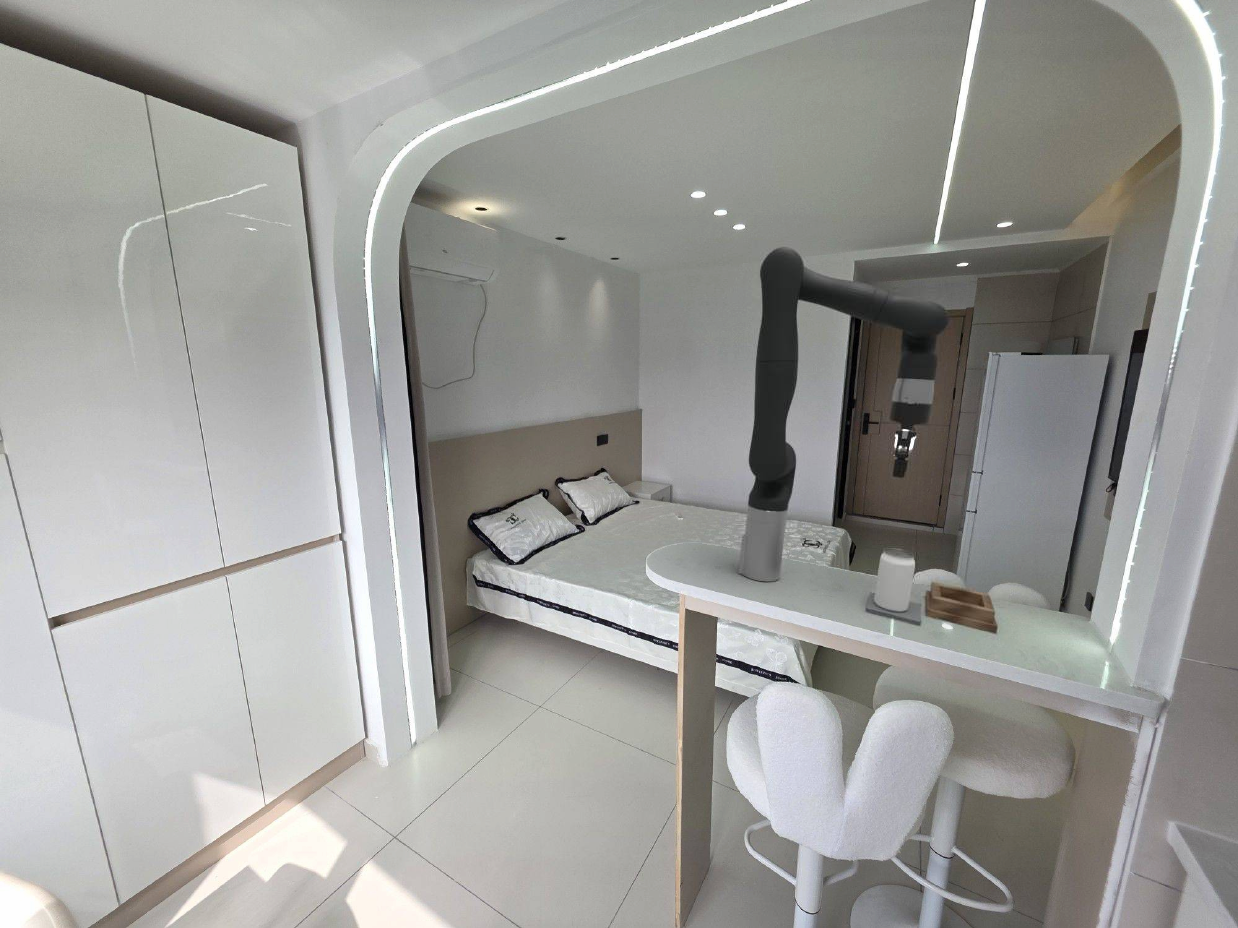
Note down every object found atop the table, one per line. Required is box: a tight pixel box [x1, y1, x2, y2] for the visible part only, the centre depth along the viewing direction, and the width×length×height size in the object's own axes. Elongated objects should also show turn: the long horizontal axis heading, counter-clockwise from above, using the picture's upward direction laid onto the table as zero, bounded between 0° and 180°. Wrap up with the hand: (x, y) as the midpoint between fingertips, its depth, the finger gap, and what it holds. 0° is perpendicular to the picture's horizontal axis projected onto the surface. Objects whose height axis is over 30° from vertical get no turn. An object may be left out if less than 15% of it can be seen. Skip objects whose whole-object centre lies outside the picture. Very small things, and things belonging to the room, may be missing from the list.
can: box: [874, 547, 916, 612], centre depth 105 cm, size 6×6×12 cm
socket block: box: [924, 581, 998, 634], centre depth 106 cm, size 12×12×4 cm
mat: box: [865, 591, 922, 627], centre depth 106 cm, size 10×10×1 cm
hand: (899, 474), depth 110 cm, fingers open, 8 cm apart
